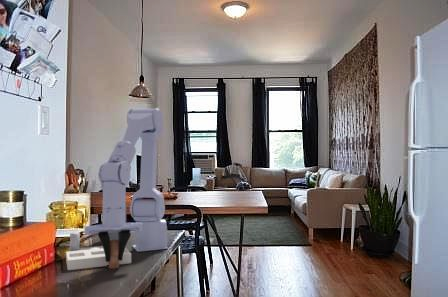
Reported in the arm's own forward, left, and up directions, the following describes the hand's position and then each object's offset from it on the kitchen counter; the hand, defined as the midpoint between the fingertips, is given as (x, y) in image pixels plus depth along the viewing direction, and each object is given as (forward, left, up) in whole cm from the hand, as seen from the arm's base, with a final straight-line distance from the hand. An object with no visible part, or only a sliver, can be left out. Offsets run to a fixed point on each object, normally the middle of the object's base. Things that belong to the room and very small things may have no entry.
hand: (113, 260), depth 100 cm
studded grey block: (+3, -17, -2) cm, 17 cm away
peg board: (+3, -8, -2) cm, 8 cm away
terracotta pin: (0, 0, -2) cm, 2 cm away
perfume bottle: (-5, -33, -2) cm, 33 cm away
